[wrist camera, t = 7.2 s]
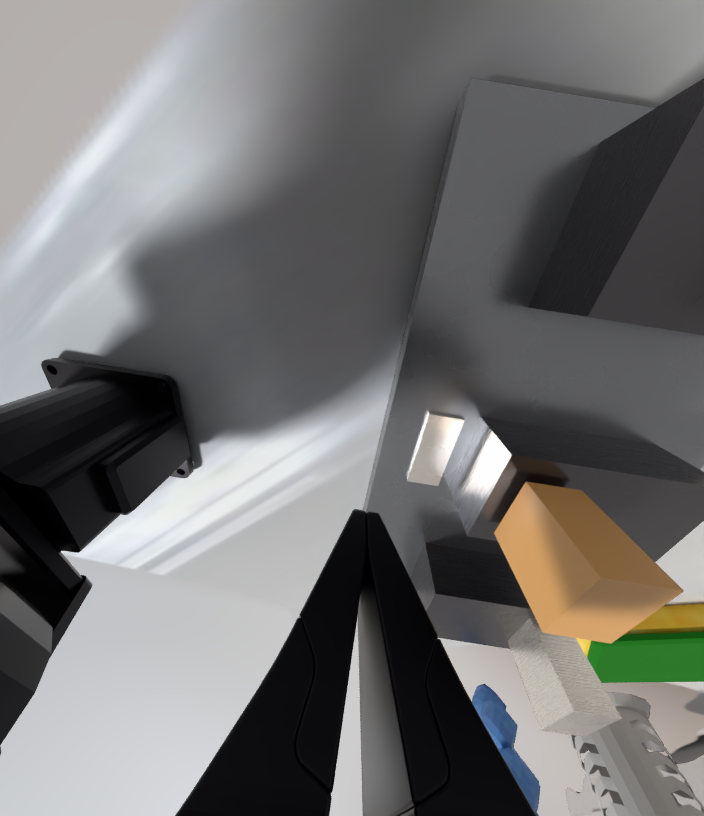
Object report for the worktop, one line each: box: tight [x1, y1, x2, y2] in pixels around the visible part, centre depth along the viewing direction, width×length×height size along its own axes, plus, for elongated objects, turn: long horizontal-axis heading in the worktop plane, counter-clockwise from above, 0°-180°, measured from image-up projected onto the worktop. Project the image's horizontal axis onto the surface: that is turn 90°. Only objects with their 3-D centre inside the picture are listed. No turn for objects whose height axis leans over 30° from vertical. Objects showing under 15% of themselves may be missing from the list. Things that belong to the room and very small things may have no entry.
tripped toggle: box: [494, 482, 683, 644], centre depth 8 cm, size 2×3×3 cm
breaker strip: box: [363, 78, 704, 737], centre depth 10 cm, size 16×24×7 cm, turn 172°
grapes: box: [472, 684, 540, 816], centre depth 22 cm, size 12×7×12 cm, turn 12°
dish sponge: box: [576, 604, 704, 683], centre depth 19 cm, size 7×14×2 cm, turn 106°
